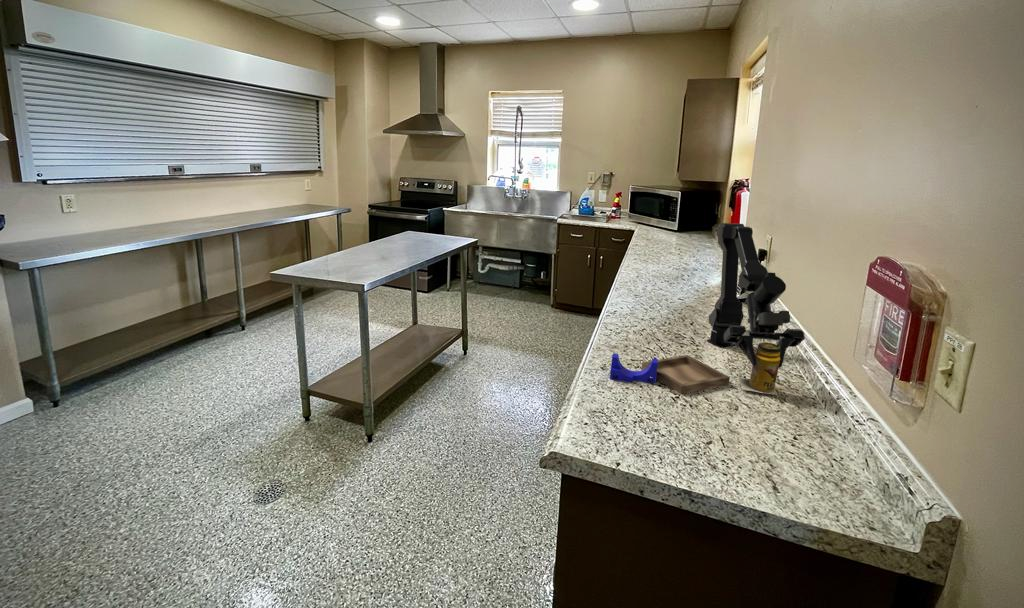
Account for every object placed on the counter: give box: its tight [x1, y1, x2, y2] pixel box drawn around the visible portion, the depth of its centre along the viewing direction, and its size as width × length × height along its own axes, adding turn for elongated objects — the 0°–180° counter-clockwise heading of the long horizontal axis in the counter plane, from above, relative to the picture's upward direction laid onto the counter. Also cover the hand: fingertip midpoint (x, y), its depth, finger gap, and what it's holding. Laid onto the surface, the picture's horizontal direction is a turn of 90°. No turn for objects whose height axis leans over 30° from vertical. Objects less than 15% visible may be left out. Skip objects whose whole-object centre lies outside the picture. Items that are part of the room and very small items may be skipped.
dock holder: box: [640, 354, 731, 395], centre depth 139 cm, size 16×16×2 cm
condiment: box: [738, 341, 781, 396], centre depth 131 cm, size 7×8×12 cm
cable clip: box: [609, 352, 659, 384], centre depth 137 cm, size 12×4×6 cm, turn 74°
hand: (767, 366), depth 130 cm, fingers closed on condiment, 6 cm apart
